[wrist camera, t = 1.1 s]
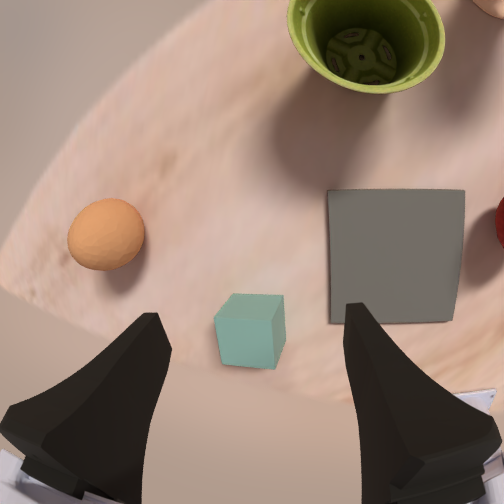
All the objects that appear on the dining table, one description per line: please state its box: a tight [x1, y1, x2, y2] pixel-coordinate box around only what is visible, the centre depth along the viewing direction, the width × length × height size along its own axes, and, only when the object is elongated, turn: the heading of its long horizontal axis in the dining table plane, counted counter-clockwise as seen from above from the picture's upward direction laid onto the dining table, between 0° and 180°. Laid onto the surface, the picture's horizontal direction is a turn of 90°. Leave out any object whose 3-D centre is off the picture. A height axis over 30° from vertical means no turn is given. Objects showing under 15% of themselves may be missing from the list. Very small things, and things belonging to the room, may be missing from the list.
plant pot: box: [287, 0, 445, 94], centre depth 17 cm, size 9×9×9 cm
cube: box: [214, 294, 286, 369], centre depth 28 cm, size 5×5×5 cm
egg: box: [67, 198, 144, 271], centre depth 28 cm, size 7×7×9 cm
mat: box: [328, 189, 465, 323], centre depth 25 cm, size 12×12×1 cm
